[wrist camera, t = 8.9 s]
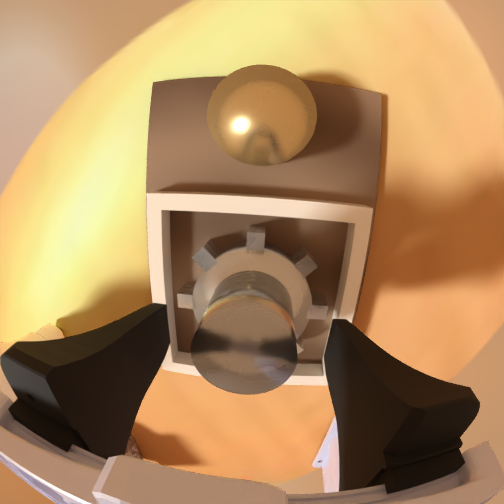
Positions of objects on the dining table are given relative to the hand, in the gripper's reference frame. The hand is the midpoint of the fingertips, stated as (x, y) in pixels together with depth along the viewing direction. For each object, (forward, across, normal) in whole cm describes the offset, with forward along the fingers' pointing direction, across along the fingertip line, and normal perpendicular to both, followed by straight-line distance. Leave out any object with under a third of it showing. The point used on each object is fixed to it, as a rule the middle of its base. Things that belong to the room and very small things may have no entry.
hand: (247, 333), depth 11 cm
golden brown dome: (+4, 0, -9) cm, 10 cm away
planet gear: (+4, 0, 0) cm, 4 cm away
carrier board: (+4, 0, -3) cm, 5 cm away
